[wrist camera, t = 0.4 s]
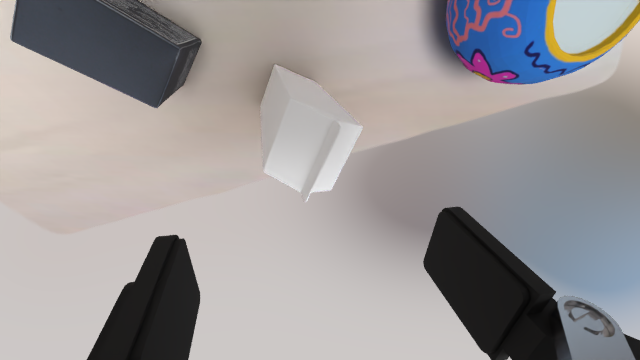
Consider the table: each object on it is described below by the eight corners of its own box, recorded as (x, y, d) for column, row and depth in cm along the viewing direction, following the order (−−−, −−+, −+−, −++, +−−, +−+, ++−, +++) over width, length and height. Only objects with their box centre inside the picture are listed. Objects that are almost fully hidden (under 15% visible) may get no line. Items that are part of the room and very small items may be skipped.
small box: (81, 36, 29) (2, 42, 20) (97, -26, 27) (17, -51, 18) (182, 89, 33) (155, 112, 24) (203, 40, 31) (182, 45, 22)
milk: (259, 107, 36) (260, 195, 17) (274, 62, 34) (293, 108, 15) (300, 122, 38) (340, 215, 20) (317, 81, 36) (381, 142, 17)
